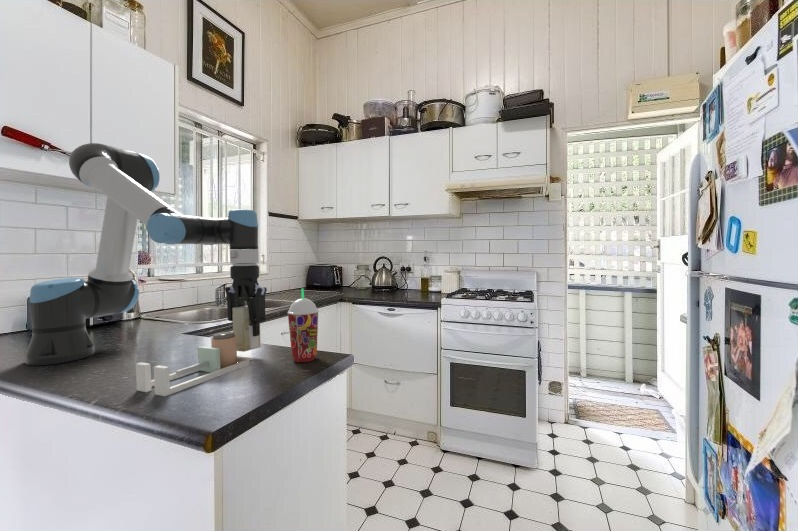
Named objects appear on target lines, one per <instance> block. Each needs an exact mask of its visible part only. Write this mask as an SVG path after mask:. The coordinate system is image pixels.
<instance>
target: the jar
mask: <svg viewBox="0 0 798 531" xmlns="http://www.w3.org/2000/svg"><path fill="white" fill-rule="evenodd" d="M210 341H211V342H210V344H211V346H210V347H212V348H220V369H222V368H225V367H228V366H231V365H234V364H236V363H237V356H238V351H237V343H236V335H235V333H234V332H233V331H223V332H217V333H214V334H212V337H211V338H210Z"/></svg>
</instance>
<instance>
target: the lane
mask: <svg viewBox="0 0 798 531" xmlns="http://www.w3.org/2000/svg"><path fill="white" fill-rule="evenodd" d="M237 362H238V363H236V364H234V365H231V366H228V367H225V368H222V369H220V370H217V371H214V372H207V373H206V374H203V375H201V376H198V377H197V376H196V377H195V378H191V379H189V380H186V381H184V382H181V383H178V384H175V385H173V386H171V384H170V381H173V380H177V379H179V378H181V377H185V376H187V375H190V374H194V373H196V372H200V370H199V369H197V370H194V371H191V372H188V373H185V374H182V375H176V371H175V372H173V373H170V367H169V366H167V365H166V366H165V365H159V364H158V365H156V366H153V376H154V377H153V379H152V370H151V369H152V367H151V363H149V362H137V363H135V375H136V376H135V378H136V379H135V380H136V391H139V392H142V393H149V392H151V391H152V388H153V387H154V395H155V396H162V397H167V396H170V395H172V394H175V393H178V392H180V391H184V390H186V389H188V388H191V387H194V386H197V385H199V384H202V383H204V382H208V381H210V380H212V379H215V378H218V377H220V376H223V375H226V374H228V373H231V372H233V371H237V370H239V369H241V367H242V368H244V367H243V366H245V367H247V366H250V365H252V364H253V358H252V357H245V356H239V355H237ZM251 363H252V364H251ZM249 364H250V365H249ZM246 365H247V366H246ZM236 369H237V370H236Z"/></svg>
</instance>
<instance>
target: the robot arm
mask: <svg viewBox="0 0 798 531" xmlns="http://www.w3.org/2000/svg"><path fill="white" fill-rule="evenodd" d="M68 165H69V168H70V171H71V173H72V174H73V176H74V178H76V179H77V180H78V181H79V182H80V183H82V184H83V185H84V186H86V187H89V189H93V190H94V189H95V190H98V191H100V192H101V193H102V194H104V195H105V196H106V197H107V198H106V202H105V210H104V213H103V214H104V215H103V220H102V225H101V226H102V227H101V234H100V240H99V245H98V246H99V247H98V251H97V259H96V263H95V264H96V265H95V268H94V269H92V270H91V271H89V272H88V275H87V280H84V279H83V278H82V277H67V278H66V277H65V278H58V279H51V280H46V281H42V282H38V283H35V284H33V285H32V286H31V288H30V291H29V292H30V293H29V303H30V316H31V334H32V336H31V338H30V342H29V344H28V347H27V350H26V352H25V356H24V361H25V365H27V366H46V365H56V364H63V363H69V362H74V361H79V360H81V359H85V358H88V357H90V356H93V355H94V354H95V345H94V343H93V341H92V339H91V337H90V335H89V332H88V330H87V327H86V326H87V325H86V324H87V323H86V319H87V320H88V319H92V318H98V317H106V316H115V315H118V314H122V313H126V312H128V311H130V310H131V309H133V308H134V307H135V306H136V304H137V302H138V300H139V296H140V290H139V288H138V283H137V282H136V281H135V280H134V276H133V274H131V272H129V271H130V270H129V269H130V265H131V261H132V254H133V248H134V242H135V236H136V231H137V224H138V221H140V222H141V223H143V225H145V226H146V232H147V234H149V238H150V239H151V241H153V242H155V243H158V244H165V245H203V246H214V245H228V246H229V263H230V265H231V266H230V267H229V269H230V270H229V271H230V279H231V280H233V281H232V284H231V285H230V286H225V287H224V291H225V294H226V306H227V320H228V321H229V322H232V323H233V309H232V308H234V307H241V306H248V308H249V316H250V321H251V324H249V348H250V349H252V348H255V347H258V346H259V341H258V336H259V334H260V335H261V324H262V323H265V322H266V295H267V291H268V290H267V287H262V286H260V284H259V282H258V279H259V277H260V266H259V265H258V264H259V263H260V258H259V257H260V255H259V223H258V216H257V212H256V211H255V210H252V209H244V208H243V209H242V208H241V209H240V208H239V209H238V208H237V209H234V208H233V209H230V210H229V211H228V215H227V217H218V218H217V217H203V216H194V215H184V214H182V213H181V212H179V211H177V210H176V209H175V208H173V207H171V205H169V204H167V203H166V202H165V201H163V200H162V199H161V198H159V197H158V196H156V195H155V194H154V193H153V192H154V191H155V190H156V188H158V186H159V185H160V171H159V168H158V166H157V164H156V161H154V160H153V159H152V158H151V157H149V156H147V155H146V154H142V153H139V152H136V151H131V150H127V149H122V148H118V147H116V146H115V147H114V146H110V145H107V144H104V143H103V144H102V143H99V142H98V143H95V142H92V143H91V142H88V143H84V144H81V145H79V146H78V147H76V148H75V149H73V150H72V151H71V153H70V155H69V160H68ZM245 302H246V303H245ZM245 304H246V305H245ZM255 319H256V320H255ZM259 325H260V327H259ZM255 349H256V348H255ZM252 350H253V349H252Z"/></svg>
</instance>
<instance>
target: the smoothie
mask: <svg viewBox="0 0 798 531" xmlns="http://www.w3.org/2000/svg"><path fill="white" fill-rule="evenodd" d="M300 294H301V296H300V297H301V298H298V299H295V300H294V301H293V302H292V303H291V305H290V307H289V309H288V311H287V317H288V328H289V329H288V330H289V339H290V340H289V341H290V349H291V357H292V358H293V361H294V362H296V363H310V362H312V361H314V360H315V359H316V355H317V354H318V335H319V334H318V332H319V331H318V330H319V309H318V308H317V306H316V304H315V303H314V301H312V300H311V299H309V298H306V297H305V291H304V288H301V292H300Z"/></svg>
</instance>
